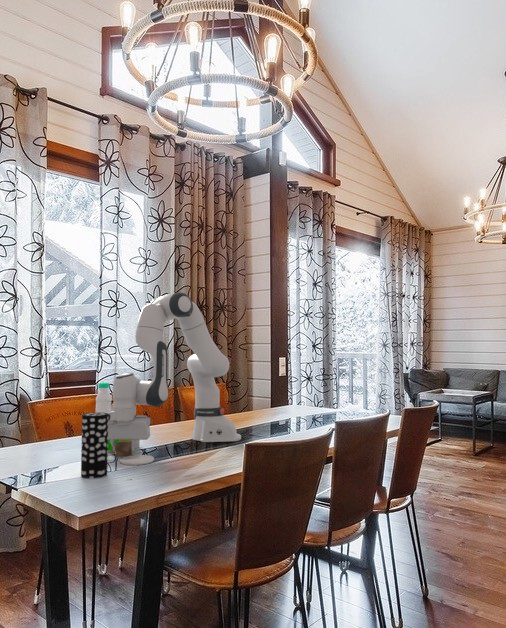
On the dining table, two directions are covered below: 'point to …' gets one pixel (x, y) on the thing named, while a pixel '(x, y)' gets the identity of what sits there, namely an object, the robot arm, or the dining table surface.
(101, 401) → the water bottle
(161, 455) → the dining table surface
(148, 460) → the saucer
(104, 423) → the spotted tube
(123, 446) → the walnut block
